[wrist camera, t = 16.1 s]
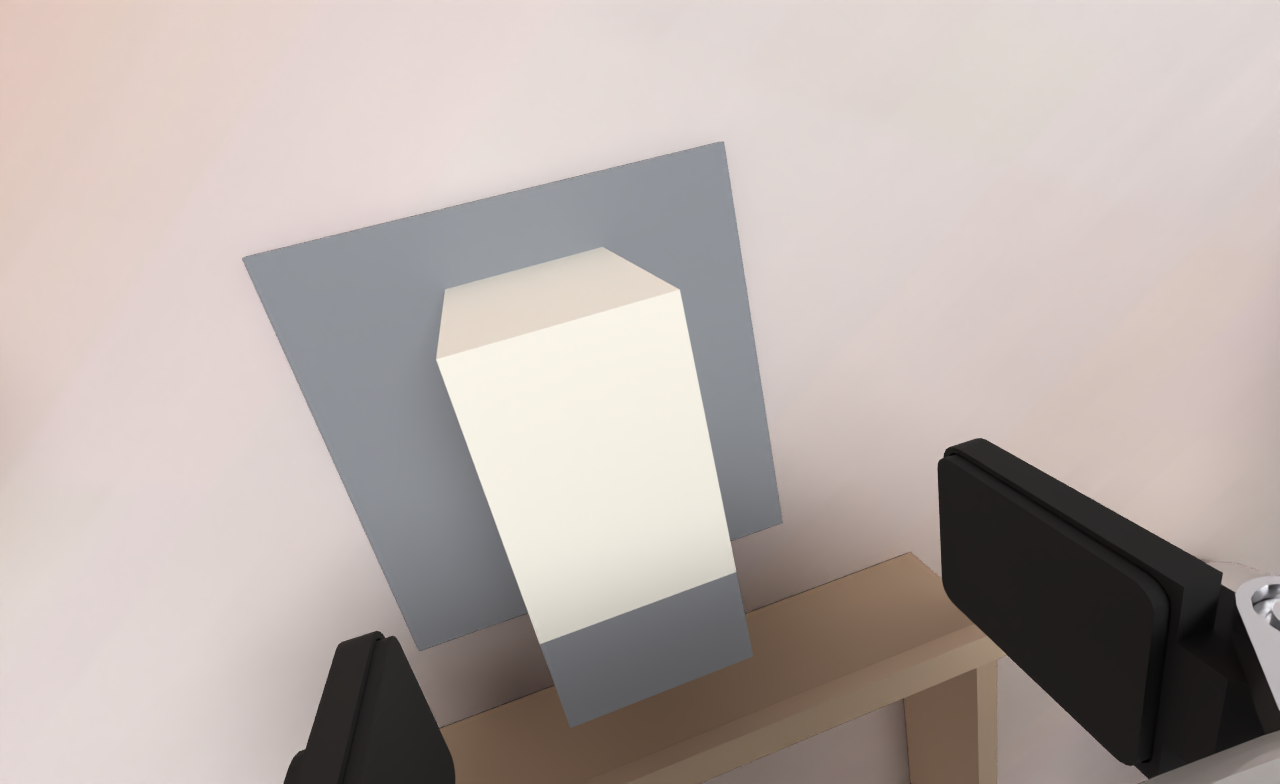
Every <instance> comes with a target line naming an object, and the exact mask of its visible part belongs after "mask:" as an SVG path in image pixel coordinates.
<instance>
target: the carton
mask: <svg viewBox="0 0 1280 784" xmlns="http://www.w3.org/2000/svg"><path fill="white" fill-rule="evenodd" d="M745 617H746V622H747V627H748V632H749V637H750V642H751V647H752V652H753V657H750V658H748V659H745V660H743V661H740V662H738V663H735V664H732V665H730V666H727V667H725V668H722V669H720V670H717V671H715V672H712V673H710V674H707V675H704V676H702V677H699V678H697V679H694V680H692V681H689V682H687V683H684V684H682V685H679V686H676V687H674V688H671V689H669V690H666V691H664V692H661V693H659V694H656V695H654V696H651V697H648V698H646V699H643V700H641V701H638V702H636V703H633V704H631V705H628V706H626V707H623V708H620V709H618V710H615V711H613V712H610V713H608V714H605V715H603V716H600V717H598V718H595V719H592V720H590V721H587V722H585V723H582V724H580V725H577V726H575V727H572V728H570V726H569V723H568V721H567V718H566V715H565V712H564V710H563V707H562V704H561V701H560V699H559V696H558V693H557V690H556V688H555V686H552V687H549V688H547V689H544V690H541V691H539V692H536V693H533V694H531V695H528V696H525V697H523V698H520V699H517V700H515V701H512V702H509V703H507V704H504V705H501V706H499V707H496V708H493V709H491V710H488V711H485V712H483V713H480V714H477V715H475V716H472V717H469V718H467V719H464V720H461V721H459V722H456V723H453V724H451V725H448V726H445V727H443V728H440V731H441V734H442V736H443V738H444V740H445V742H446V744H447V746H448V749H449V751H450V753H451V756H452V759H453V762H454V768H455V780H456V782H455V784H699V783H701V782H704V781H706V780H709V779H711V778H713V777H716V776H718V775H721V774H723V773H725V772H728V771H730V770H733V769H735V768H737V767H740V766H742V765H745V764H747V763H749V762H752V761H754V760H757V759H759V758H761V757H764V756H766V755H769V754H771V753H773V752H776V751H778V750H781V749H783V748H785V747H788V746H790V745H793V744H795V743H797V742H800V741H802V740H805V739H807V738H809V737H812V736H814V735H817V734H819V733H821V732H824V731H826V730H829V729H831V728H833V727H836V726H838V725H841V724H843V723H845V722H848V721H850V720H853V719H855V718H857V717H860V716H862V715H865V714H867V713H869V712H872V711H874V710H877V709H879V708H881V707H884V706H886V705H889V704H891V703H893V702H896V701H898V700H901V699H903V698H904V708H905V720H906V733H907V746H908V759H909V772H910V784H997V659H999V658H1001V657H1004V656H1006V655H1007V654H1006V653H1005V652H1003V651H1002V650H1001V649H1000V648H999V647H998V646H997V645H996V644H995V643H994V642H993V641H992V640H991V639H990V638H989V637H988V636H987V635H986V634H985V633H983V632H982V631H981V630H980V629H979V628H978V627H977V626H976V625H975V624H974V623H973V622H972V621H971V620H970V619H969V618H968V617H967V616H966V615H965V614H964V613H962V612H961V611H960V610H959V609H958V608H957V607H956V606H955V605H954V604H953V603H952V602H951V601H950V599H949V598H948V596H947V594H946V592H945V590H944V587H943V583H942V578H940V577H939V576H938V575H937V574H936V573H934V572H933V571H932V570H931V569H930V568H929V567H927V566H926V565H925V564H924V563H923V562H922V561H920V560H919V559H918V558H917V557H916V556H915V555H913V554H912V553H911V552H909V553H907V554H904V555H901V556H899V557H896V558H893V559H891V560H888V561H885V562H883V563H880V564H877V565H875V566H872V567H869V568H867V569H864V570H861V571H859V572H856V573H853V574H851V575H848V576H845V577H843V578H840V579H837V580H835V581H832V582H829V583H827V584H824V585H821V586H819V587H816V588H813V589H811V590H808V591H805V592H803V593H800V594H797V595H795V596H792V597H789V598H787V599H784V600H781V601H779V602H776V603H773V604H771V605H768V606H765V607H763V608H760V609H757V610H755V611H752V612H749V613H747V614H745Z"/></svg>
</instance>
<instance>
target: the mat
mask: <svg viewBox="0 0 1280 784" xmlns="http://www.w3.org/2000/svg"><path fill="white" fill-rule="evenodd" d="M600 247H604V248H606V249H607V250H609V251H611V252H613V253H615V254H616V255H618V256H620V257H622V258H624V259H625V260H627V261H629V262H631V263H633V264H635V265H636V266H638V267H640V268H642V269H644V270H645V271H647V272H649V273H651V274H653V275H654V276H656V277H658V278H660V279H662V280H663V281H665V282H667V283H669V284H671V285H672V286H674V287H676V288H678V289H680V293H681V298H682V303H683V308H684V313H685V318H686V323H687V328H688V333H689V338H690V343H691V348H692V353H693V358H694V363H695V368H696V373H697V378H698V383H699V388H700V393H701V398H702V403H703V408H704V413H705V418H706V423H707V428H708V433H709V438H710V443H711V448H712V453H713V458H714V463H715V468H716V473H717V478H718V483H719V488H720V493H721V498H722V503H723V507H724V512H725V517H726V522H727V527H728V532H729V537H730V541H733V540H736V539H739V538H742V537H744V536H747V535H750V534H753V533H756V532H759V531H761V530H764V529H767V528H770V527H773V526H775V525H778V524H781V523H783V522H782V516H781V509H780V503H779V496H778V490H777V483H776V477H775V470H774V464H773V457H772V451H771V444H770V438H769V431H768V425H767V418H766V412H765V405H764V399H763V392H762V386H761V379H760V373H759V366H758V360H757V353H756V347H755V340H754V334H753V327H752V321H751V314H750V308H749V301H748V295H747V288H746V282H745V275H744V269H743V262H742V256H741V249H740V243H739V236H738V230H737V223H736V217H735V210H734V204H733V197H732V191H731V184H730V178H729V171H728V165H727V158H726V152H725V145H724V142H717V143H713V144H709V145H704V146H700V147H696V148H692V149H688V150H684V151H680V152H676V153H671V154H667V155H663V156H659V157H655V158H651V159H647V160H642V161H638V162H634V163H630V164H626V165H622V166H618V167H614V168H609V169H605V170H601V171H597V172H593V173H589V174H585V175H581V176H576V177H572V178H568V179H564V180H560V181H556V182H552V183H547V184H543V185H539V186H535V187H531V188H527V189H523V190H519V191H514V192H510V193H506V194H502V195H498V196H494V197H490V198H486V199H481V200H477V201H473V202H469V203H465V204H461V205H457V206H452V207H448V208H444V209H440V210H436V211H432V212H428V213H424V214H419V215H415V216H411V217H407V218H403V219H399V220H395V221H391V222H386V223H382V224H378V225H374V226H370V227H366V228H362V229H357V230H353V231H349V232H345V233H341V234H337V235H333V236H329V237H324V238H320V239H316V240H312V241H308V242H304V243H300V244H296V245H291V246H287V247H283V248H279V249H275V250H271V251H267V252H262V253H258V254H254V255H250V256H246V257H244V258H242V260H243V262H244V264H245V267H246V269H247V271H248V273H249V275H250V278H251V280H252V282H253V284H254V286H255V289H256V291H257V293H258V295H259V298H260V300H261V302H262V304H263V306H264V309H265V311H266V313H267V315H268V318H269V320H270V322H271V324H272V326H273V329H274V331H275V333H276V335H277V338H278V340H279V342H280V344H281V346H282V349H283V351H284V353H285V355H286V357H287V360H288V362H289V364H290V366H291V369H292V371H293V373H294V375H295V377H296V380H297V382H298V384H299V386H300V389H301V391H302V393H303V395H304V397H305V400H306V402H307V404H308V406H309V409H310V411H311V413H312V415H313V417H314V420H315V422H316V424H317V426H318V428H319V431H320V433H321V435H322V437H323V440H324V442H325V444H326V446H327V448H328V451H329V453H330V455H331V457H332V460H333V462H334V464H335V466H336V468H337V471H338V473H339V475H340V477H341V480H342V482H343V484H344V486H345V488H346V491H347V493H348V495H349V497H350V499H351V502H352V504H353V506H354V508H355V511H356V513H357V515H358V517H359V519H360V522H361V524H362V526H363V528H364V531H365V533H366V535H367V537H368V539H369V542H370V544H371V546H372V548H373V551H374V553H375V555H376V557H377V559H378V562H379V564H380V566H381V568H382V570H383V573H384V575H385V577H386V579H387V582H388V584H389V586H390V588H391V590H392V593H393V595H394V597H395V599H396V602H397V604H398V606H399V608H400V610H401V613H402V615H403V617H404V619H405V622H406V624H407V626H408V628H409V630H410V633H411V635H412V637H413V639H414V641H415V644H416V646H417V648H418V650H419V651H422V650H425V649H427V648H430V647H433V646H436V645H439V644H442V643H444V642H447V641H450V640H453V639H456V638H459V637H461V636H464V635H467V634H470V633H473V632H476V631H478V630H481V629H484V628H487V627H490V626H493V625H495V624H498V623H501V622H504V621H507V620H510V619H512V618H515V617H518V616H521V615H524V614H526V613H528V611H527V608H526V605H525V603H524V600H523V597H522V594H521V592H520V589H519V586H518V583H517V581H516V578H515V575H514V572H513V570H512V567H511V564H510V561H509V559H508V556H507V553H506V550H505V548H504V545H503V542H502V539H501V537H500V534H499V531H498V528H497V526H496V523H495V520H494V517H493V515H492V512H491V509H490V506H489V504H488V501H487V498H486V495H485V493H484V490H483V487H482V484H481V482H480V479H479V476H478V473H477V471H476V468H475V465H474V462H473V460H472V457H471V454H470V451H469V449H468V446H467V443H466V440H465V438H464V435H463V432H462V429H461V427H460V424H459V421H458V418H457V416H456V413H455V410H454V407H453V405H452V402H451V399H450V396H449V394H448V391H447V388H446V385H445V383H444V380H443V377H442V375H441V372H440V369H439V366H438V364H437V361H436V356H437V348H438V340H439V332H440V325H441V317H442V309H443V301H444V294H445V289H448V288H452V287H456V286H459V285H463V284H467V283H470V282H474V281H478V280H482V279H485V278H489V277H493V276H496V275H500V274H504V273H508V272H511V271H515V270H519V269H522V268H526V267H530V266H534V265H537V264H541V263H545V262H548V261H552V260H556V259H559V258H563V257H567V256H571V255H574V254H578V253H582V252H585V251H589V250H593V249H597V248H600Z"/></svg>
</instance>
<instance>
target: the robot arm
mask: <svg viewBox="0 0 1280 784" xmlns="http://www.w3.org/2000/svg"><path fill="white" fill-rule="evenodd" d="M938 490H939V515H940V540H941V565H942V583H943V587H944V590H945V592H946V594H947V596H948V598H949V599H950V601H951V602H952V603H953V604H954V605H955V606H956V607H957V608H958V609H959V610H960V611H961V612H962V613H964V614H965V615H966V616H967V617H968V618H969V619H970V620H971V621H972V622H973V623H974V624H975V625H976V626H977V627H978V628H979V629H980V630H981V631H982V632H983V633H985V634H986V635H987V636H988V637H989V638H990V639H991V640H992V641H993V642H994V643H995V644H996V645H997V646H998V647H999V648H1000V649H1001V650H1002V651H1003V652H1005V653H1006V654H1007V655H1008V656H1009V657H1010V658H1011V659H1012V660H1013V661H1014V662H1015V663H1016V664H1017V665H1018V666H1019V667H1020V668H1021V669H1022V670H1023V671H1024V672H1026V673H1027V674H1028V675H1029V676H1030V677H1031V678H1032V679H1033V680H1034V681H1035V682H1036V683H1037V684H1038V685H1039V686H1040V687H1041V688H1042V689H1043V690H1044V691H1045V692H1047V693H1048V694H1049V695H1050V696H1051V697H1052V698H1053V699H1054V700H1055V701H1056V702H1057V703H1058V704H1059V705H1060V706H1061V707H1062V708H1063V709H1064V710H1065V711H1067V712H1068V713H1069V714H1070V715H1071V716H1072V717H1073V718H1074V719H1075V720H1076V721H1077V722H1078V723H1079V724H1080V725H1081V726H1082V727H1083V728H1084V729H1085V730H1086V731H1088V732H1089V733H1090V734H1091V735H1092V736H1093V737H1094V738H1095V739H1096V740H1097V741H1098V742H1099V743H1100V744H1101V745H1102V746H1103V747H1104V748H1105V749H1106V750H1107V751H1109V752H1110V753H1111V754H1112V755H1113V756H1114V757H1115V758H1116V759H1117V760H1119V761H1120V762H1122V763H1124V764H1125V765H1129V766H1132V765H1134V766H1135V767H1137V768H1138V769H1139V770H1140V771H1141V772H1142V773H1143V774H1144V775H1145V776H1146V777H1147V778H1148V779H1149V780H1146V781H1144V782H1141V783H1139V784H1280V576H1266V577H1259V578H1254V579H1251V580H1249V581H1247V582H1245V583H1243V584H1241V586H1240V587H1239V589H1238V590H1237V592H1234V591H1232V590H1231V589H1229V588H1227V587H1225V586H1224V585H1222V584H1221V582H1222V576H1223V572H1221V571H1219V570H1217V569H1215V568H1214V567H1212V566H1210V565H1208V564H1206V563H1205V562H1203V561H1201V560H1199V559H1198V558H1196V557H1194V556H1192V555H1190V554H1189V553H1187V552H1185V551H1183V550H1182V549H1180V548H1178V547H1176V546H1174V545H1173V544H1171V543H1169V542H1167V541H1165V540H1164V539H1162V538H1160V537H1158V536H1157V535H1155V534H1153V533H1151V532H1149V531H1148V530H1146V529H1144V528H1142V527H1141V526H1139V525H1137V524H1135V523H1133V522H1132V521H1130V520H1128V519H1126V518H1124V517H1123V516H1121V515H1119V514H1117V513H1116V512H1114V511H1112V510H1110V509H1108V508H1107V507H1105V506H1103V505H1101V504H1100V503H1098V502H1096V501H1094V500H1092V499H1091V498H1089V497H1087V496H1085V495H1083V494H1082V493H1080V492H1078V491H1076V490H1075V489H1073V488H1071V487H1069V486H1067V485H1066V484H1064V483H1062V482H1060V481H1059V480H1057V479H1055V478H1053V477H1051V476H1050V475H1048V474H1046V473H1044V472H1042V471H1041V470H1039V469H1037V468H1035V467H1034V466H1032V465H1030V464H1028V463H1026V462H1025V461H1023V460H1021V459H1019V458H1018V457H1016V456H1014V455H1012V454H1010V453H1009V452H1007V451H1005V450H1003V449H1001V448H1000V447H998V446H996V445H994V444H993V443H991V442H989V441H987V440H985V439H982V438H977V439H974V440H970V441H967V442H964V443H961V444H958V445H955V446H952V447H949V448H948V449H946V451H945V453H944V458H942V459H941V460H939V462H938ZM455 782H456V780H455V768H454V762H453V759H452V756H451V753H450V751H449V749H448V746H447V744H446V742H445V740H444V738H443V736H442V734H441V731H440V729H439V727H438V725H437V723H436V721H435V718H434V716H433V714H432V712H431V710H430V708H429V706H428V703H427V701H426V699H425V697H424V695H423V693H422V690H421V688H420V686H419V684H418V682H417V680H416V678H415V675H414V673H413V671H412V669H411V667H410V665H409V662H408V660H407V658H406V656H405V654H404V652H403V650H402V647H401V645H400V643H399V641H398V640H397V638H396V637H395V636H391V637H388V638H385V637H384V635H383V634H382V633H381V632H380V631H375V632H372V633H369V634H366V635H363V636H360V637H356V638H353V639H350V640H347V641H344V642H341V643H340V644H339V645H338V647H337V649H336V652H335V655H334V658H333V661H332V665H331V668H330V671H329V674H328V678H327V681H326V684H325V687H324V691H323V694H322V697H321V701H320V704H319V707H318V710H317V714H316V717H315V720H314V723H313V727H312V730H311V733H310V736H309V740H308V743H307V746H306V749H305V750H302V751H299V752H298V753H297V754H296V755H295V757H294V758H293V760H292V762H291V764H290V766H289V768H288V771H287V774H286V777H285V780H284V784H455Z"/></svg>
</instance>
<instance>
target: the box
mask: <svg viewBox="0 0 1280 784" xmlns="http://www.w3.org/2000/svg"><path fill="white" fill-rule="evenodd" d="M436 361H437V364H438V366H439V369H440V372H441V375H442V377H443V380H444V383H445V385H446V388H447V391H448V394H449V396H450V399H451V402H452V405H453V407H454V410H455V413H456V416H457V418H458V421H459V424H460V427H461V429H462V432H463V435H464V438H465V440H466V443H467V446H468V449H469V451H470V454H471V457H472V460H473V462H474V465H475V468H476V471H477V473H478V476H479V479H480V482H481V484H482V487H483V490H484V493H485V495H486V498H487V501H488V504H489V506H490V509H491V512H492V515H493V517H494V520H495V523H496V526H497V528H498V531H499V534H500V537H501V539H502V542H503V545H504V548H505V550H506V553H507V556H508V559H509V561H510V564H511V567H512V570H513V572H514V575H515V578H516V581H517V583H518V586H519V589H520V592H521V594H522V597H523V600H524V603H525V605H526V608H527V611H528V614H529V616H530V619H531V622H532V625H533V627H534V630H535V633H536V636H537V638H538V641H539V644H540V647H541V649H542V652H543V655H544V657H545V660H546V663H547V666H548V668H549V671H550V674H551V677H552V679H553V682H554V685H555V688H556V690H557V693H558V696H559V699H560V701H561V704H562V707H563V710H564V712H565V715H566V718H567V721H568V723H569V726H570V728H572V727H575V726H577V725H580V724H582V723H585V722H587V721H590V720H592V719H595V718H598V717H600V716H603V715H605V714H608V713H610V712H613V711H615V710H618V709H620V708H623V707H626V706H628V705H631V704H633V703H636V702H638V701H641V700H643V699H646V698H648V697H651V696H654V695H656V694H659V693H661V692H664V691H666V690H669V689H671V688H674V687H676V686H679V685H682V684H684V683H687V682H689V681H692V680H694V679H697V678H699V677H702V676H704V675H707V674H710V673H712V672H715V671H717V670H720V669H722V668H725V667H727V666H730V665H732V664H735V663H738V662H740V661H743V660H745V659H748V658H750V657H753V652H752V647H751V642H750V637H749V632H748V627H747V622H746V617H745V612H744V607H743V602H742V597H741V592H740V587H739V582H738V577H737V572H736V567H735V562H734V557H733V552H732V547H731V542H730V537H729V532H728V527H727V522H726V517H725V512H724V507H723V503H722V498H721V493H720V488H719V483H718V478H717V473H716V468H715V463H714V458H713V453H712V448H711V443H710V438H709V433H708V428H707V423H706V418H705V413H704V408H703V403H702V398H701V393H700V388H699V383H698V378H697V373H696V368H695V363H694V358H693V353H692V348H691V343H690V338H689V333H688V328H687V323H686V318H685V313H684V308H683V303H682V298H681V293H680V289H678V288H676V287H674V286H672V285H671V284H669V283H667V282H665V281H663V280H662V279H660V278H658V277H656V276H654V275H653V274H651V273H649V272H647V271H645V270H644V269H642V268H640V267H638V266H636V265H635V264H633V263H631V262H629V261H627V260H625V259H624V258H622V257H620V256H618V255H616V254H615V253H613V252H611V251H609V250H607V249H606V248H604V247H600V248H597V249H593V250H589V251H585V252H582V253H578V254H574V255H571V256H567V257H563V258H559V259H556V260H552V261H548V262H545V263H541V264H537V265H534V266H530V267H526V268H522V269H519V270H515V271H511V272H508V273H504V274H500V275H496V276H493V277H489V278H485V279H482V280H478V281H474V282H470V283H467V284H463V285H459V286H456V287H452V288H448V289H445V294H444V301H443V309H442V317H441V325H440V332H439V340H438V348H437V356H436Z"/></svg>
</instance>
